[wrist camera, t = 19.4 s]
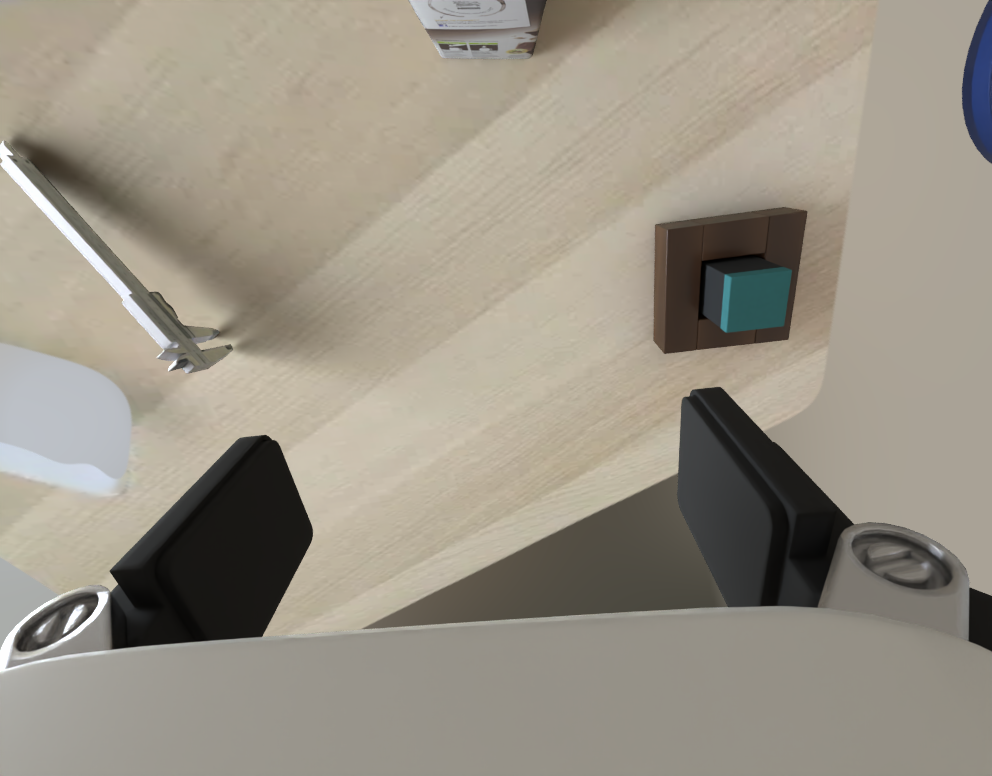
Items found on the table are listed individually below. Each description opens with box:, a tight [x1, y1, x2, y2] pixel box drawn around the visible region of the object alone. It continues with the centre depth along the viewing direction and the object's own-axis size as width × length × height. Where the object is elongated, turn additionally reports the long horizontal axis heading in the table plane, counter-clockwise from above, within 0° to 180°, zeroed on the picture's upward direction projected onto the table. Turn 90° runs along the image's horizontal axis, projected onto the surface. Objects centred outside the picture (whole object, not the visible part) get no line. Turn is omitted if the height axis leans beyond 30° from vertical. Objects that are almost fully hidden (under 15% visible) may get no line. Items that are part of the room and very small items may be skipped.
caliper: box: [0, 141, 233, 374], centre depth 34 cm, size 20×1×6 cm, turn 39°
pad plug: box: [699, 255, 792, 333], centre depth 33 cm, size 4×4×7 cm
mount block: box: [654, 207, 807, 354], centre depth 35 cm, size 9×9×3 cm
